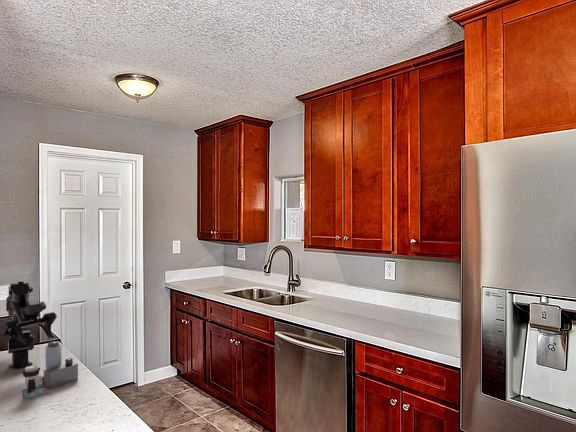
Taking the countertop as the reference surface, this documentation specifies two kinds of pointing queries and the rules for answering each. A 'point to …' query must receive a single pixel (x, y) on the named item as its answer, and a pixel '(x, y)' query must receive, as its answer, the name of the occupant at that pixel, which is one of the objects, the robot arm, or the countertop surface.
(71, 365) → the motor block
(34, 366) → the push button
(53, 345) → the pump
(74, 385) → the countertop surface
